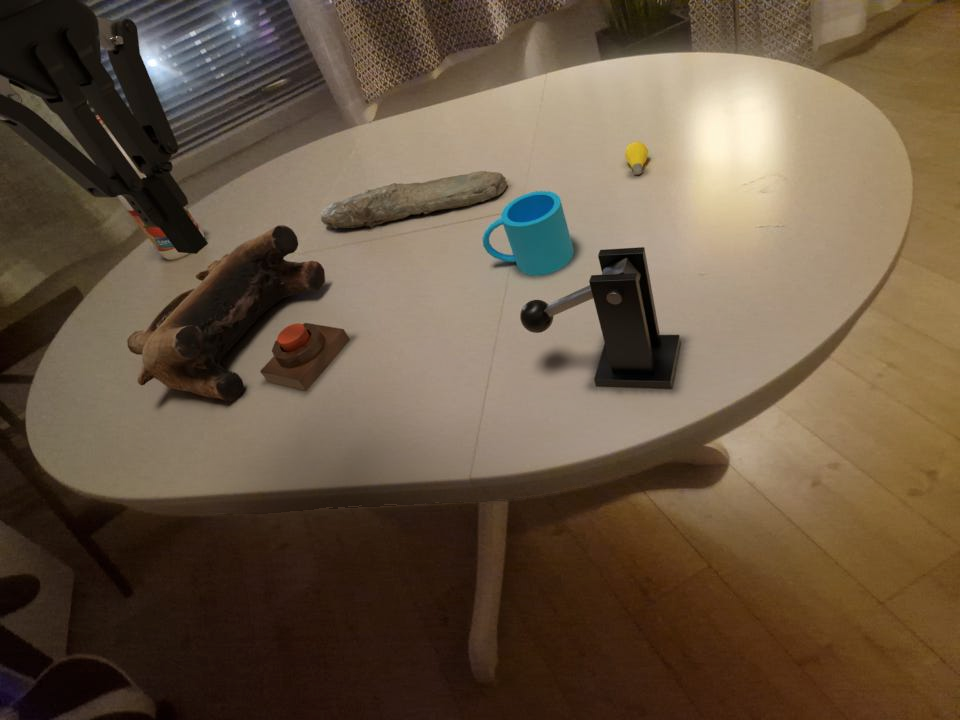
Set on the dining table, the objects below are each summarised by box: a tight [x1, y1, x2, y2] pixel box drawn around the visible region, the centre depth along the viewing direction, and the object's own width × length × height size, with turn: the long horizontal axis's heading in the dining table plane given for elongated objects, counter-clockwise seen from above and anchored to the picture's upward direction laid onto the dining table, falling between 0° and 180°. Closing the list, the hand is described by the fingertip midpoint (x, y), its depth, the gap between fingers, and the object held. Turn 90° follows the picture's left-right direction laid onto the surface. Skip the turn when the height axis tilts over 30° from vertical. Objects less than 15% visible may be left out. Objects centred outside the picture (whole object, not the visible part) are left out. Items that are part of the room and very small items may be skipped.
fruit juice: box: [95, 114, 206, 261], centre depth 125 cm, size 9×9×28 cm
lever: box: [519, 258, 641, 334], centre depth 67 cm, size 14×4×4 cm, turn 70°
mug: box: [481, 190, 575, 277], centre depth 89 cm, size 12×8×8 cm
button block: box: [260, 322, 351, 392], centre depth 89 cm, size 10×8×4 cm
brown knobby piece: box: [126, 224, 326, 402], centre depth 99 cm, size 13×31×25 cm
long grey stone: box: [320, 170, 508, 230], centre depth 113 cm, size 35×5×10 cm
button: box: [276, 322, 310, 353], centre depth 88 cm, size 4×4×2 cm
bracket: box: [588, 246, 681, 390], centre depth 66 cm, size 8×7×14 cm
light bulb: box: [624, 141, 649, 176], centre depth 99 cm, size 3×6×4 cm, turn 170°
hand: (192, 247), depth 56 cm, fingers closed
